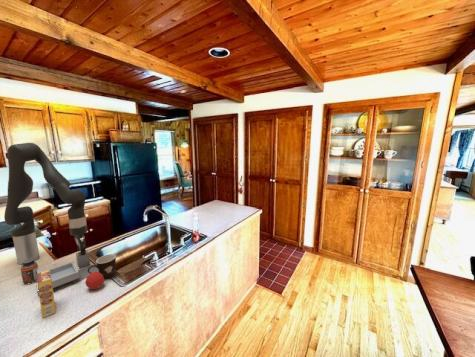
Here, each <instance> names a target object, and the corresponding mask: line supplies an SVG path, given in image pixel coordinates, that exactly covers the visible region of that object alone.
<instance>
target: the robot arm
mask: <svg viewBox="0 0 475 357" xmlns="http://www.w3.org/2000/svg"><path fill="white" fill-rule="evenodd" d="M7 160H8V181H7V198H6V199H7V200H6V205H5V210H4V218H3V219H4V222H5V224H6V225H9V226H14V225H18V224H19V225H20V224H21V225H20V226H19V227H17V228H15V229H13V231H12V232H11V234H12V235H11V236H12V241H13V246H14V250H15V251H14V252H15V257H16V260H17V264H18V265H23V261H25V260H28V259H34V262H36V261H37V260H38V259H39V258H40V251H39V246H38V240H37V235H36V226H35V215H34V210H33V208H32V207H30V206H29V205H28V206H26V205H25V206H22V207H20V206H21V204H22V203H23V202H24V201H25V200H27V198H29V196H31V194H32V192H33V190H34V189H33V187H34V180H33V178H32V177H31V176H30V175H29V174H28V173H27V172H26V171H25V164H26V162H27V163H28V162H31V161H36V163H38V164H39V165H40V166H41V169H42V173H43V174H42V175H43V178H44V180H45V181H46V183H47V184H48V185H49V186H50V187H52V189H54V190H55V191H56V194H57V195H58V197H59V198H60V200H61V201H62V202H63V203H65V204H67V205H71V206H70V207H69V208H68V209H67V216H68V227H69V228H68V229H69V234H70V236H74V241H75V243H76V244H75V245H77V246H76V247H77V251H79V252H81V255H85V254H86V250H87V243H86V236H85V234H86V233H87V232H88V225H87V218H86V214H85V204H86V194H85V192H84V190H82V189H77V188H76V189H73V190H71V188H70V186H71V182H70V181H69V180H68V179H67V178H66V177H65V176H64V175H63V174H62V173H60V171H58V169H57V168H56V167H55V166H54V164H53V163H52V162H51V160H50V159H49V157H48V156H47V154H45V152H44V150H43V149H42V148H41V147H40V146H39V145H38V144H36V143H34V142H23V143H16V144H11V145H10V146H8V149H7Z"/></svg>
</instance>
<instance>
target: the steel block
mask: <svg viewBox="0 0 475 357" xmlns="http://www.w3.org/2000/svg"><path fill="white" fill-rule="evenodd" d="M85 250H86V254H85V255H81V252H80V251H78V252H75V256H76V264H77V268H78V267H79V268H78V270H81V269H83V268H86V267H89V266H91V261H90V253H89V251H88V250H87V249H85Z"/></svg>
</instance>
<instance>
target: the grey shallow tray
mask: <svg viewBox="0 0 475 357" xmlns="http://www.w3.org/2000/svg"><path fill="white" fill-rule="evenodd" d="M48 270H50V275H51V280H52V286H53V288H54V287H57V286H59V285H62V284H65V283H67V282H70V281H72V282H74V283H76V282H75V281H76V280H77V278H80V277H79V271H78V270H79V268H78V266H76V264H75V261H70V262H68V263H65V264H62V265H59V266H56V267H53V268H49V269H47V270H43V271H41V269H40V268H38V269H37V274H39V273H42V272H44V271H48Z"/></svg>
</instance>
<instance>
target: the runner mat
mask: <svg viewBox="0 0 475 357" xmlns="http://www.w3.org/2000/svg"><path fill="white" fill-rule="evenodd" d="M93 265H97V263H95V264H94V263H93ZM93 265H92V264H90V266H88V267H85V268H82V269H78V271H79V277H80V278H77V280H76V281H75V282H72V281H70V282H67V283H65V284H62V285H59V286H57V287H54V288H53V292H55V291H57V290H59V289H62V288H64V287H67V286H70V285H72V284H74V283H76V282H77V283H78V282H79V281H82V280H86V278H87V276H88V275H89V274H90V273H89V272H91V273H93V272H99V270H98V268H97V267H91V266H93ZM89 267H91V268H90V269H89V272H88V268H89ZM36 291H37V290H36ZM37 297H38V298H39V291H37Z"/></svg>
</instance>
